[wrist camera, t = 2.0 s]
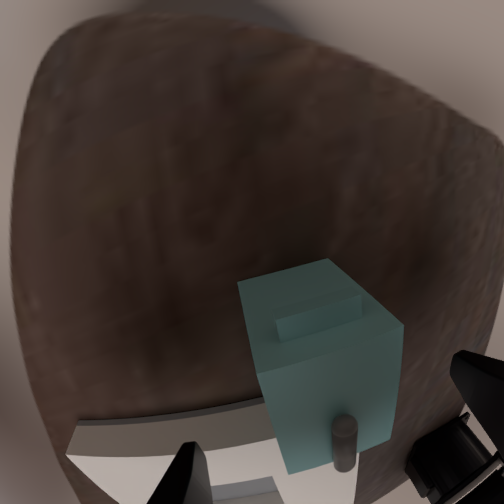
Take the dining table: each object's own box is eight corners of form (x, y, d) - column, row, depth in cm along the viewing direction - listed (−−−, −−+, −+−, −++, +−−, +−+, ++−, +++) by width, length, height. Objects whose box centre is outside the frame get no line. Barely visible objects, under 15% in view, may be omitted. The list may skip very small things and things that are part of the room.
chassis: (340, 373, 15) (361, 410, 12) (342, 483, 19) (352, 508, 16) (78, 420, 14) (65, 454, 11) (171, 514, 18) (171, 538, 15)
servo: (325, 241, 12) (422, 314, 6) (339, 366, 14) (396, 462, 8) (232, 265, 12) (253, 371, 6) (266, 387, 14) (295, 498, 8)
